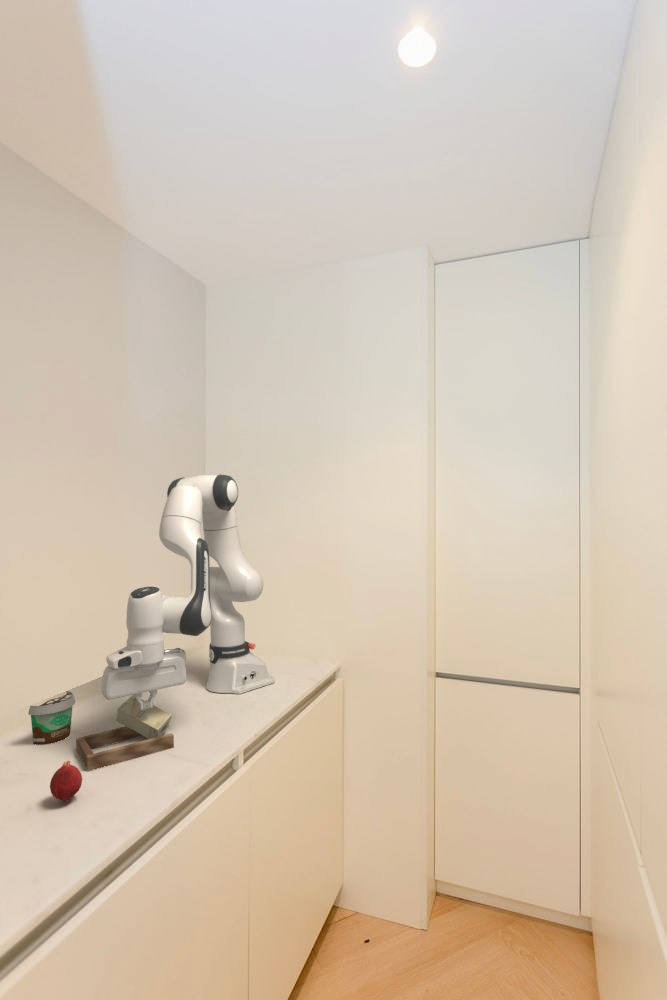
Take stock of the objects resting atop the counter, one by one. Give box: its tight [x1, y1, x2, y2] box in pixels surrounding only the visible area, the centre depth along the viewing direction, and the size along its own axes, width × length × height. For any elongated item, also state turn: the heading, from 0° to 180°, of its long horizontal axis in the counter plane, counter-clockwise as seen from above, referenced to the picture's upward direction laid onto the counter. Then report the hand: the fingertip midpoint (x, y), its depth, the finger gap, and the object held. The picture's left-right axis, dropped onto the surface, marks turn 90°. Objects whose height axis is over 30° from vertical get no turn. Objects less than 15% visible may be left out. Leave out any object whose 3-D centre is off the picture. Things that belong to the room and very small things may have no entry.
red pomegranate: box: [49, 759, 83, 803], centre depth 108 cm, size 6×6×8 cm
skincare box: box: [115, 695, 172, 739], centre depth 137 cm, size 6×4×12 cm
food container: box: [27, 690, 76, 746], centre depth 137 cm, size 12×6×10 cm, turn 160°
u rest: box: [75, 725, 175, 772], centre depth 131 cm, size 20×13×3 cm, turn 126°
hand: (145, 708), depth 134 cm, fingers closed
